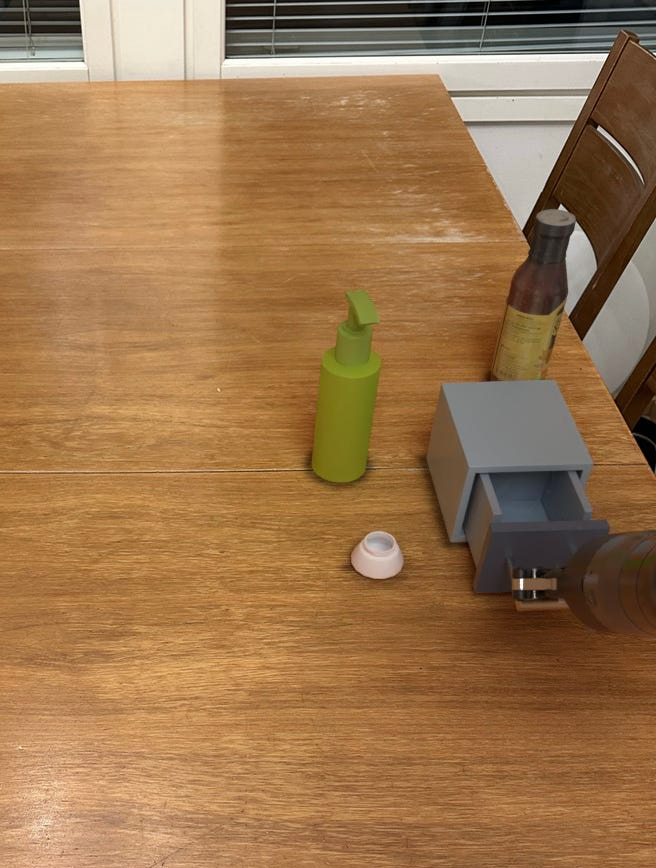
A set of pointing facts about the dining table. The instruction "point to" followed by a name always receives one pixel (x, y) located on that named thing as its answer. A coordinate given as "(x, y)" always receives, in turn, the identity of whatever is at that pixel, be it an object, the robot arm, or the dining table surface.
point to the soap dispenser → (347, 395)
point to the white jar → (377, 556)
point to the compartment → (526, 527)
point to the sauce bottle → (535, 302)
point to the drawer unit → (499, 439)
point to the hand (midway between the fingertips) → (549, 581)
